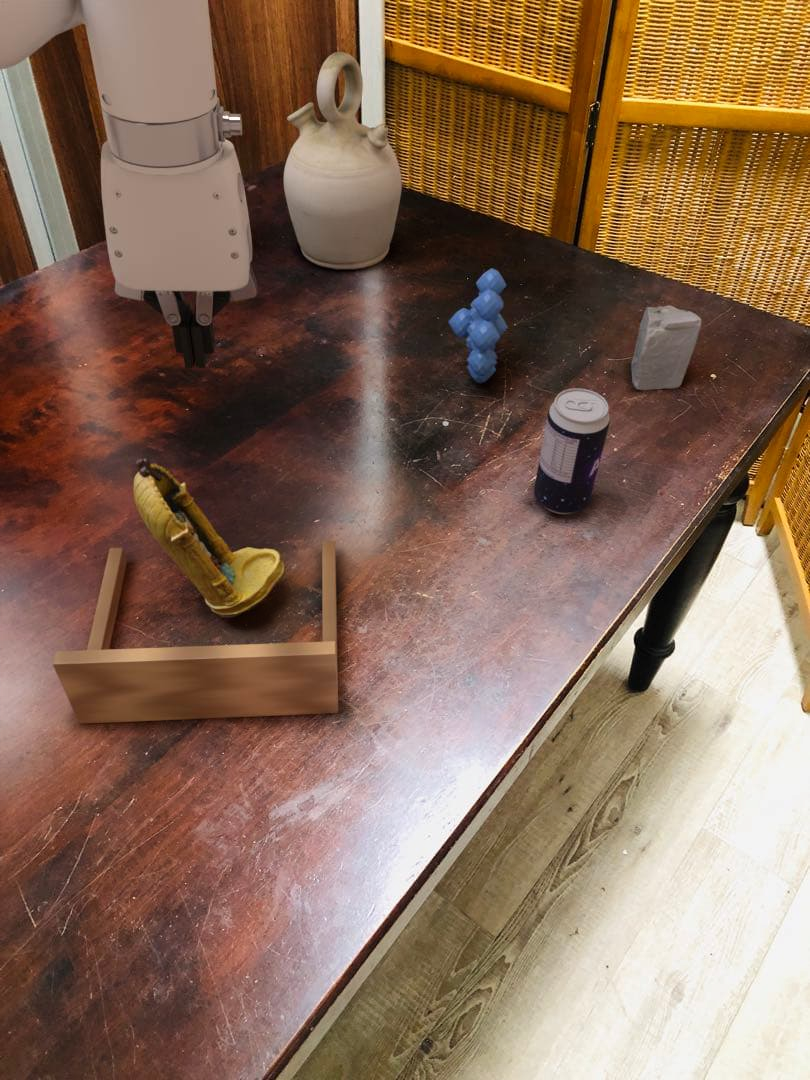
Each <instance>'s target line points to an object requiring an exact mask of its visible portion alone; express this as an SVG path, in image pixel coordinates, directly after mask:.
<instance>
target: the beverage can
mask: <svg viewBox="0 0 810 1080" xmlns="http://www.w3.org/2000/svg"><path fill="white" fill-rule="evenodd" d="M609 409H610V408H609V404H608V401H607V400H606V399H605V398H604V397H603V396H602V395H601V394H599V393H597V392H595V391H593V390H590V389H587V388H579V387H578V388H575V387H574V388H569V389H565V390H562V391H561V392H559V393H558V394H557V395H556V396H555V398H554V401H553V402H552V403H551V404H550V406H549V408H548V411H547V417H546V421H545V427H544V432H543V438H542V444H541V448H540V449H541V450H540V453H539V454H540V455H539V459H538V466H537V471H536V475H535V481H534V487H533V494H534V498H535V499H536V500H537V501H538V503H540V505H542V506H543V507H544V508H545V509H546V510H548V511H550V512H552V513H554V514H557V515H558V514H559V515H569V514H570V515H571V514H573V513H577V512H580V511H582V510H583V509H586V507H587V506H588V505H590V502H591V500H592V494H593V493H594V488H595V484H596V480H597V475H598V473H599V468H600V463H601V460H602V456H603V452H604V448H605V444H606V440H607V436H608V431H609V427H610V423H611V416H610V413H609Z"/></svg>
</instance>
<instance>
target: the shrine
mask: <svg viewBox="0 0 810 1080" xmlns="http://www.w3.org/2000/svg"><path fill="white" fill-rule="evenodd" d="M135 466H136V468H137V469H138V472H137V473H136V474H135V476H134V480H133V499H134V502H135V507H136V509H137V511H138V514H139V515H140V517H141V519H142V522H143V524H144V525H145V526H146V528H147V529H148V530H149V532H150V534H151V535H152V536H153V538H154V539H155V540H156V541H157V543H158V544H159V545H160V547H161V548H162V549H163V550H164V552H165V553H166V554H167V555H168V556H169V557H170V559H171V560H172V561H173V562H174V563H175V564H176V565H177V566H178V568H179V569H180V570H181V572H182V573H184V575H185V576H186V577H187V578H188V580H189V581H190V582H191V583H192V584H193V585H194V587H196V589H197V590H198V592H199V593H200V594H201V596H203V598H204V602H205V604H206V605H207V606H208V607H209V608H210V610H211V612H212V613H213V614H215V616H218V617H220V618H233V617H237V616H240V615H242V614H244V613H246V612H248V611H251V610H252V609H254V608H256V607H257V606H259V605H261V604H262V603H263V602H264V601H265V600H266V599H267V598H268V597H269V595H270V594H271V593H272V590H273V589H274V588H275V586H276V585H277V584H278V583H279V582H280V581H281V580H282V579H283V577H284V575H285V572H286V564H285V563H284V561H283V560H282V559H281V558H282V555H281V553H280V552H279V551H277V550H276V549H275V548H266V547H265V548H255V547H251V546H250V547H249V546H247V547H243V548H240V549H238V550H235V551H233V552H232V551H231V550H230V548H229V546H228V544H227V543H226V542H225V540H224V539H223V537H221V536H220V535H219V534H218V533H217V532H216V530H215V528H214V527H213V525H212V524H211V522H210V521H209V519H208V518H207V516H206V515H205V513H204V512H203V511H202V509H201V508H200V507H199V506H198V505H197V504H196V502H195V501H194V497H193V496H191V494H190V493H189V491H188V488H187V484H186V482H185V481H183V483H180V481H178V480H177V479H176V478H174V475H173V474H172V473H170V471H169V470H167V469H166V467H165V468H164V467H163V466H160V465H159V464H158V465H157V463H151V462H150V460H149V459H147V458H140V459H137V460H136V462H135ZM166 470H167V471H166Z"/></svg>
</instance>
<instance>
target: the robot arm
mask: <svg viewBox="0 0 810 1080" xmlns="http://www.w3.org/2000/svg"><path fill="white" fill-rule="evenodd" d="M210 19H211V18H210V9H209V1H208V0H0V70H5V69H8V68H11V67H14V66H17V65H18V64H20V63H22V62H23V61H24V60H26V59H27V58H29V57H30V56H32V55H33V54H34V53H36V52H37V51H38V50H39V49H40V48H42V47H44V45H46V44H47V43H48V42H49V41H50V40H52V39H53V38H54V37H56V36H58V35H60V34H62V33H65V32H67V31H69V30H71V29H74V28H76V27H78V26H81V25H85V30H86V35H87V40H88V45H89V51H90V56H91V61H92V66H93V72H94V76H95V81H96V86H97V91H98V97H99V102H100V108H101V113H102V118H103V123H104V130H105V134H106V139H107V140H106V141H104V142H103V144H102V146H101V151H100V187H101V188H100V189H101V202H102V203H101V204H102V211H103V213H102V214H103V222H104V223H103V224H104V230H105V231H104V232H105V239H106V246H107V253H108V258H109V263H110V264H109V265H110V268H111V273H112V275H113V277H114V280H115V281H114V282H115V283H114V293H115V294H116V295H117V296H119V297H121V298H125V299H130V300H135V301H140V302H141V301H144V302H145V303H146V304H147V305H148V306H150V307H152V308H153V309H154V310H155V311H157V312H158V313H159V314H160V315H162V316H163V318H164V320H165V322H166V324H168V325H170V326H171V330H172V336H173V342H174V349H175V353H176V354H182V356H183V362H184V367H185V369H193V368H194V367H195V366H196V367H198V369H206V367H207V362H208V357H209V356H208V354H215V351H216V350H215V349H216V339H215V332H214V322H213V318H215V317H216V316H217V315H218V314H219V313H220V312H221V311H222V310H223V309H224V308H225V307H226V306H227V305H228V304H229V303H232V302H234V303H236V302H241V301H245V300H249V299H253V298H255V297H257V294H258V281H257V278H256V275H255V272H254V269H253V267H252V264H251V263H252V261H253V242H252V241H253V240H252V232H251V231H252V230H251V224H250V215H249V209H248V203H247V195H246V191H245V184H244V179H243V175H242V171H241V167H240V163H239V158H238V155H237V152H236V149H235V146H234V144H233V142H231V141H229V140H228V139H226V138H232V136H242V135H243V122H242V121H243V120H242V114H241V113H231V112H230V111H226V110H225V108H224V106H222V105H221V104H220V97H218V91H217V89H218V88H217V81H216V70H215V60H214V50H213V39H212V30H211V28H212V27H211V20H210ZM183 292H196V303H195V304H194V308H191V305H190V304H188V303H186V301H185V297H184V293H183Z"/></svg>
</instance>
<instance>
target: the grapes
mask: <svg viewBox="0 0 810 1080" xmlns="http://www.w3.org/2000/svg"><path fill="white" fill-rule="evenodd" d="M475 284H476V287H477V289H478V290H479V292H478V293H477V295H478V296H477V297H476V298H474V299H473V300H472V302H471V303H470V304H469V305H470V307H471V308H470V309H467V308H466V307H462V308H461V309H459V310H457V311H456V312H455V313H454V314H453V315H452V317H450V319H449V320H448V324H449V326H450V328H451V330H452V331H453V333H454V334H455V336H456V337H457V338H460V339H465V338H466V339H465V341H466V343H465V345H466V346H467V348H468V350H469V351H470V352H469V354H468V357H467V359H466V362H467V366H466V369H467V371H468V373H469V374H470V376H471V378H472V379H473V381H474V382H476V383H478V384H483V383H485V382H486V381H488V380H489V379H490V378H491V377H492V376H493V375H494V373H495V372H496V370H497V369H496V365H497V363H498V361H497V359H498V355H497V354H496V351H495V349H496V343H497V342H498V341H499V340H500V338H501V336H502V335H503V334H504V333H505V332H506V331H507V330H508V328H509V327H508V325H507V323H506V321H505V319H504V318H503V316H502V315H501V313H500V312H501V311H502V309H503V308H505V307H504V304H505V302H504V301H503V299H502V296H501V293H502V292H503V291H504V290H505V288H506V287H507V283H506V282H505V279H504V278H503V276H502V274H501V273H500V272H499V270H497V269H495V268H492V267H491V268H490V269H487V271H485V272H483V274H482V275H481V276H480V277H479V278H478V279H477V281H476V282H475Z"/></svg>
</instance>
